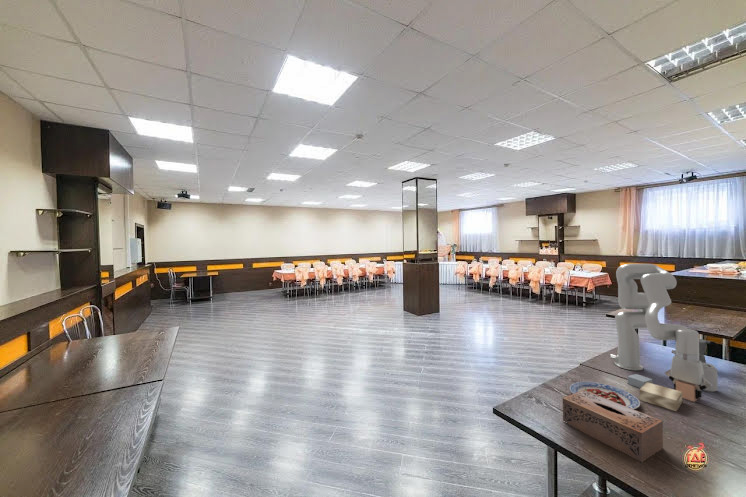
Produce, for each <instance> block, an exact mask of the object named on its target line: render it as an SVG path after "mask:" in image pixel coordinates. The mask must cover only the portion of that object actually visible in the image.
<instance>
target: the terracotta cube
mask: <svg viewBox="0 0 746 497" xmlns="http://www.w3.org/2000/svg"><path fill="white" fill-rule="evenodd" d="M676 390H677V391H681V392H682V399H684V400H687V401H691V402H693V403H695V402H696V401H698V400H699V399H696V398H695V390H696V386H695V384H692V383H689V382H685V381H682V380H677V381H676Z"/></svg>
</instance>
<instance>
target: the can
mask: <svg viewBox="0 0 746 497" xmlns="http://www.w3.org/2000/svg"><path fill="white" fill-rule="evenodd" d="M701 363H702V366H703V371H704V377H705V378H706V379H707V380H708V381H709V382H710V383H711V384H712V386H711V387H708V388H705V389H703V390H702V391H705V392H709V393H713V392H716V391H718V390H719V388H718V387H719V386H718V383H719V382H718V379H719V377H718V369H717V368H716V366H715V365H714V364H712V363H709V362H708V363H707V362H706V363H703V362H701ZM701 385H702V386H703V385H706V384H705V383H704V382H703V383H701Z"/></svg>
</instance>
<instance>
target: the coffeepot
mask: <svg viewBox="0 0 746 497" xmlns="http://www.w3.org/2000/svg"><path fill="white" fill-rule="evenodd" d="M707 345H710V346H713V347H712V350H711V353H707V356H709V357H714V356H715V353H716V352H717V350H718V349H719V344H718V343H717V342H715V341H711V340H705V339H702V338H699V361H701V362H703V363H707V360H706V357H705V354H704V353H706V349H707Z"/></svg>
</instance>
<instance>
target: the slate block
mask: <svg viewBox="0 0 746 497" xmlns="http://www.w3.org/2000/svg"><path fill="white" fill-rule="evenodd" d="M653 381H654V379H653V378H650V377H647V376H644V375H641V374H638V373H634V374H630V375H628V376H627V384H628V385H631V386H633V387H636V388H637V389H638V388H639V389H641V388H642V387H643V386H644V385H645V384H646V383H647V382H648V383H652V384H654V382H653Z"/></svg>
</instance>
